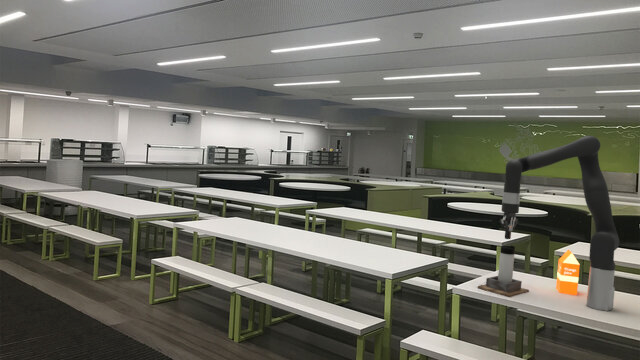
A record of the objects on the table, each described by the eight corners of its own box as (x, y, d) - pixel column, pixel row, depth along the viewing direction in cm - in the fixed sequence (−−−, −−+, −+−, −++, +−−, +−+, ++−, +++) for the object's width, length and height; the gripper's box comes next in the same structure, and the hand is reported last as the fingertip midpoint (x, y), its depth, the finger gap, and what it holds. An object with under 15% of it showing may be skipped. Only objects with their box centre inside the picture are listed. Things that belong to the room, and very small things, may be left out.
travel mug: (514, 289, 220) (518, 247, 219) (503, 290, 218) (507, 247, 217) (505, 285, 226) (508, 244, 225) (494, 286, 223) (497, 244, 222)
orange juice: (559, 292, 223) (562, 251, 222) (555, 288, 232) (559, 248, 231) (577, 295, 221) (581, 253, 220) (573, 290, 229) (577, 250, 228)
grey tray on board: (528, 291, 221) (529, 281, 221) (509, 297, 210) (510, 286, 209) (497, 283, 233) (498, 273, 233) (477, 288, 222) (478, 277, 222)
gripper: (511, 203, 212) (507, 241, 213) (525, 203, 221) (522, 239, 222) (495, 201, 218) (492, 238, 219) (510, 201, 226) (507, 236, 227)
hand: (507, 238), depth 220 cm, fingers closed
